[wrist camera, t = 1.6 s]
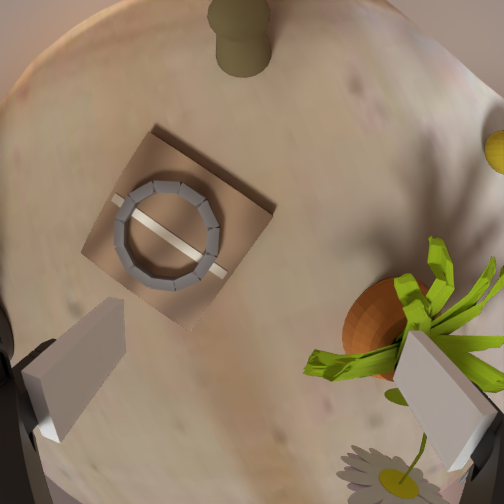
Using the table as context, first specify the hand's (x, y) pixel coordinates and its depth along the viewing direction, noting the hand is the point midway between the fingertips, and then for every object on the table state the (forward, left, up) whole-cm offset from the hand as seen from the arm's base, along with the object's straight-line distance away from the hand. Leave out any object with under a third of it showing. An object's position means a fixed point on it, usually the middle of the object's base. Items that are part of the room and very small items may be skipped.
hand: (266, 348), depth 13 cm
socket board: (-9, -4, -21) cm, 24 cm away
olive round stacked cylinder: (-14, +17, -22) cm, 31 cm away
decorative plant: (+20, +3, -22) cm, 30 cm away
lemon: (+17, +28, -22) cm, 39 cm away
